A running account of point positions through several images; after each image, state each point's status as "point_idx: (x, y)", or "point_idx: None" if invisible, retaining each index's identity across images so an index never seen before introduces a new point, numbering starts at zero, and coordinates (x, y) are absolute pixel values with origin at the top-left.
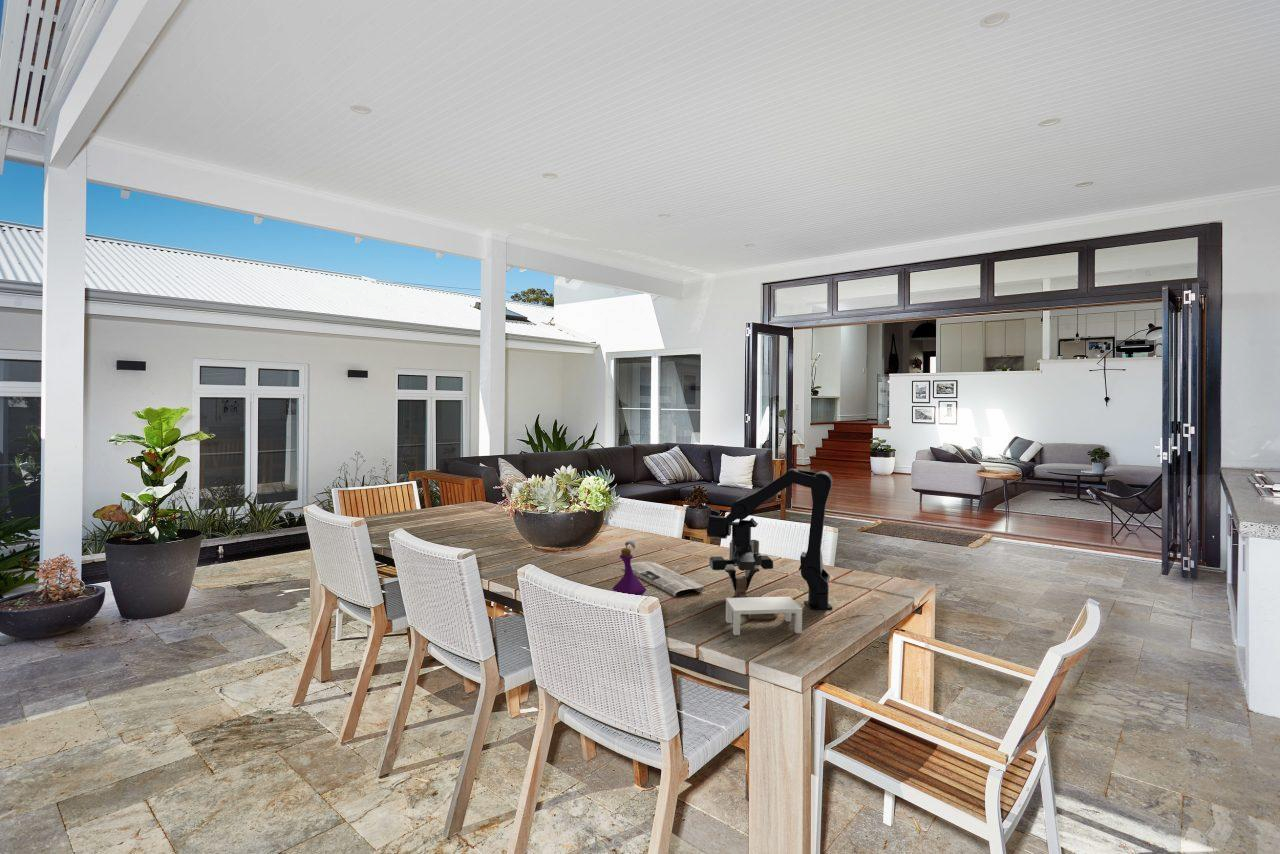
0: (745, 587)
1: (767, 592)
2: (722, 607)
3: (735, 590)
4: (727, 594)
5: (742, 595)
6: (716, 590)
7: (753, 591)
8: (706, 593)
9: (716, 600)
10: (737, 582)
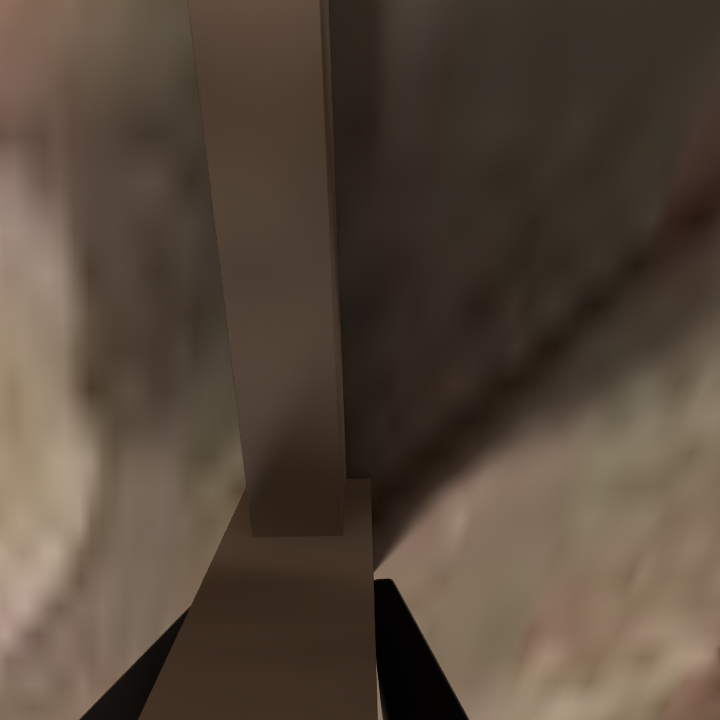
0: (213, 597)
1: (6, 655)
2: (654, 113)
3: (382, 579)
4: (449, 600)
5: (302, 383)
6: (538, 701)
7: None
8: (677, 626)
9: (641, 411)
10: (360, 695)
